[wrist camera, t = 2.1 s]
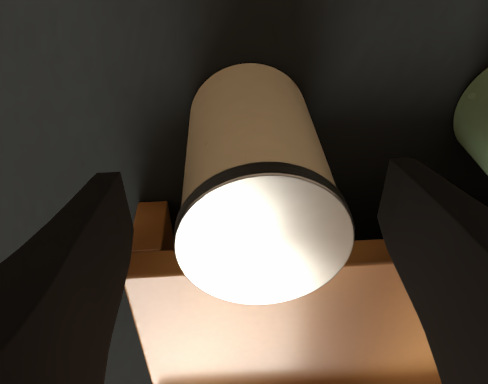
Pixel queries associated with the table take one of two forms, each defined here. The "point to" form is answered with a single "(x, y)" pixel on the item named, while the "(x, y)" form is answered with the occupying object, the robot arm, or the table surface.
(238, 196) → the cream tin
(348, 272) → the shelf
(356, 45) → the table surface
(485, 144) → the sage tin
